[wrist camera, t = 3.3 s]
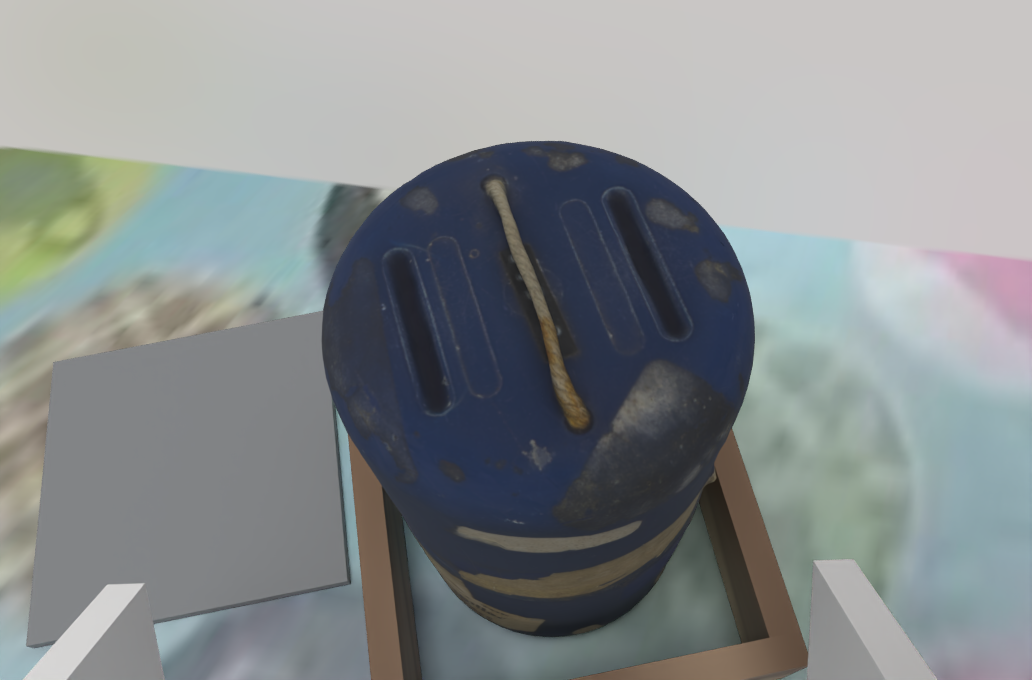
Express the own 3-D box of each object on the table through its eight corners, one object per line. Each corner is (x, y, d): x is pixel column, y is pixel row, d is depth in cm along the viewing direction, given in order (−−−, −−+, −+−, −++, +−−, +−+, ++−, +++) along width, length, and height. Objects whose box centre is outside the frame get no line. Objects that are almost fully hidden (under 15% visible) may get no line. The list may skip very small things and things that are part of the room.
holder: (669, 325, 35) (680, 275, 32) (781, 678, 29) (812, 664, 25) (362, 384, 35) (339, 341, 31) (402, 758, 28) (378, 756, 25)
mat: (327, 316, 37) (323, 310, 36) (350, 583, 31) (347, 581, 31) (60, 367, 36) (53, 362, 36) (33, 648, 31) (26, 646, 30)
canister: (659, 398, 34) (738, 66, 18) (692, 638, 29) (835, 479, 14) (430, 412, 34) (309, 98, 18) (428, 652, 30) (266, 512, 14)
